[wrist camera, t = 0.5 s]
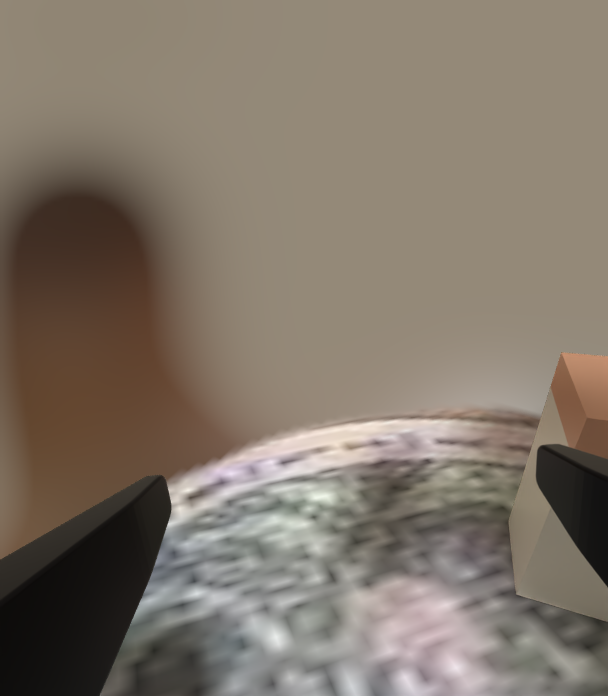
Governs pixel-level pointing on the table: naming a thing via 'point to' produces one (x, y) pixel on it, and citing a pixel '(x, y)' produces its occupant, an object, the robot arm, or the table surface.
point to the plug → (534, 510)
